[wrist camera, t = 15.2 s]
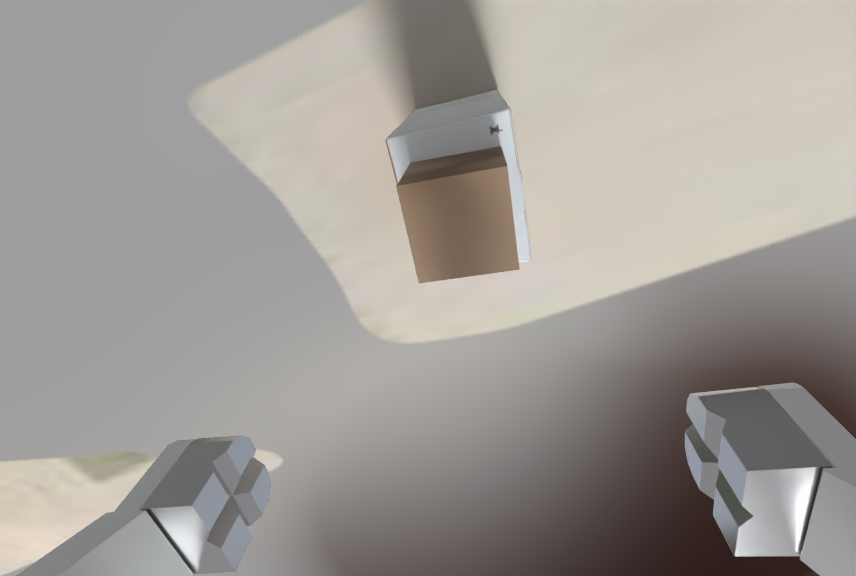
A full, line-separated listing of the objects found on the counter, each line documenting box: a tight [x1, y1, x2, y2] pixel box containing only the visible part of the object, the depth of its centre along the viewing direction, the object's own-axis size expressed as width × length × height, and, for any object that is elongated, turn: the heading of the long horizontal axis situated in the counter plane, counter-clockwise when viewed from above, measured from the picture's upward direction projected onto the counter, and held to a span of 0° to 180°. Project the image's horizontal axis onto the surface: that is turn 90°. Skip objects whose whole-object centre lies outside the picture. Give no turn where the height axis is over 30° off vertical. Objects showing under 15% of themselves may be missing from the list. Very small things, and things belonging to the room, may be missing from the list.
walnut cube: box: [396, 146, 519, 283], centre depth 21 cm, size 4×4×4 cm
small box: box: [386, 90, 531, 263], centre depth 28 cm, size 8×6×13 cm
